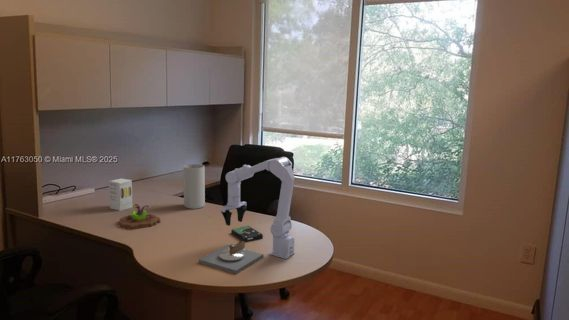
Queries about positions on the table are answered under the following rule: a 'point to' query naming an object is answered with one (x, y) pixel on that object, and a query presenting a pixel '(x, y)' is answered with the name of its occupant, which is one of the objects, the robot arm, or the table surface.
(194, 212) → the table surface
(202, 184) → the cylinder vase
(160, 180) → the table surface
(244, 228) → the disk drive
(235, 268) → the dial panel
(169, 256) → the table surface
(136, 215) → the plant
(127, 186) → the supplement box
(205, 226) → the table surface
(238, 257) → the dial
